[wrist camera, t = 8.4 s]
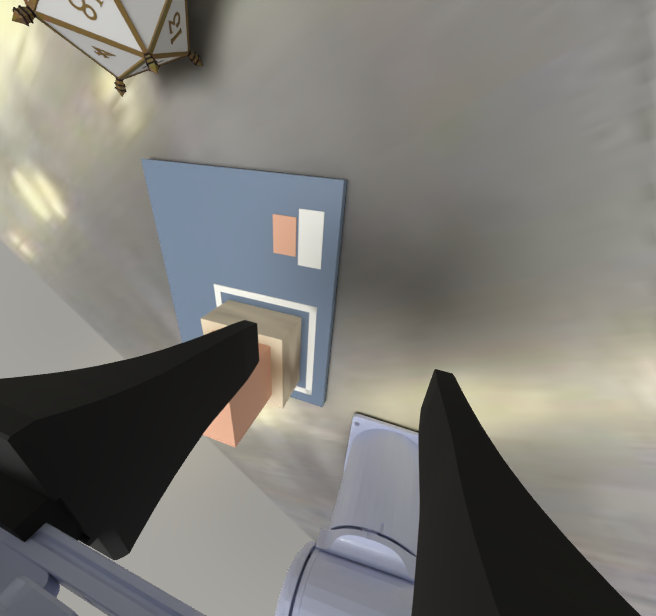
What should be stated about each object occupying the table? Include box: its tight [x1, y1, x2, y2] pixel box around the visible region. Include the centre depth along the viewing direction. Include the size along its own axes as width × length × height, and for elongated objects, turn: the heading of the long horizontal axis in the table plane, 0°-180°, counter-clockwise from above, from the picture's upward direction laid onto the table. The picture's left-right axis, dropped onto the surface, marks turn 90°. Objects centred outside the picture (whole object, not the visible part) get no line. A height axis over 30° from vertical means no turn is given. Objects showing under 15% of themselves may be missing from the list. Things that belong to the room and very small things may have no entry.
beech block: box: [201, 300, 302, 408], centre depth 23 cm, size 7×7×4 cm
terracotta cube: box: [203, 330, 272, 448], centre depth 20 cm, size 5×5×5 cm
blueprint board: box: [141, 159, 347, 407], centre depth 24 cm, size 20×16×1 cm
